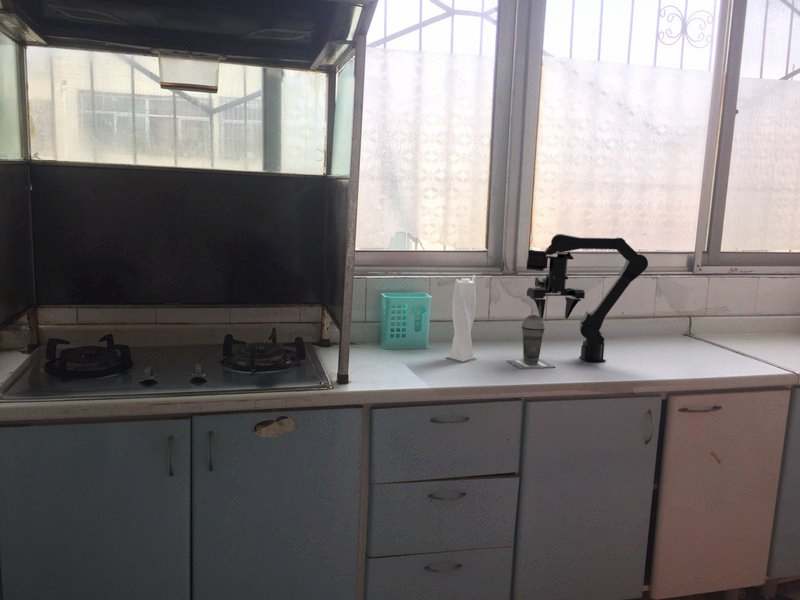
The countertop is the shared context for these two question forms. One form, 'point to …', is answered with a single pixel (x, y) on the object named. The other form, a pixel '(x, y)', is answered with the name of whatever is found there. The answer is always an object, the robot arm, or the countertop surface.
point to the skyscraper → (463, 319)
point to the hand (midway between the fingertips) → (553, 318)
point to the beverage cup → (532, 338)
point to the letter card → (522, 365)
